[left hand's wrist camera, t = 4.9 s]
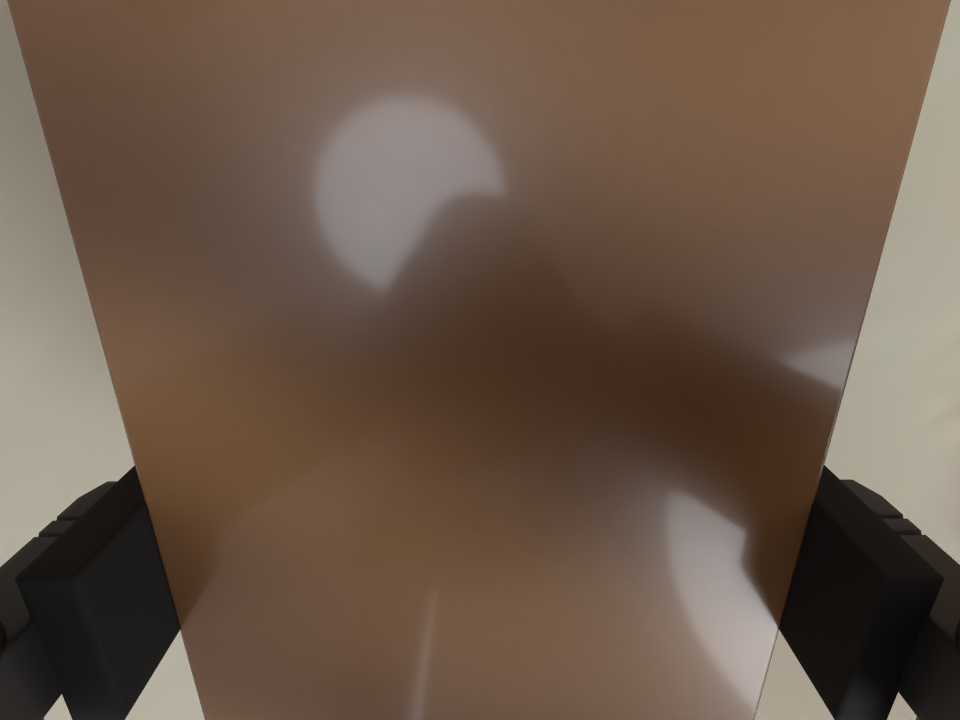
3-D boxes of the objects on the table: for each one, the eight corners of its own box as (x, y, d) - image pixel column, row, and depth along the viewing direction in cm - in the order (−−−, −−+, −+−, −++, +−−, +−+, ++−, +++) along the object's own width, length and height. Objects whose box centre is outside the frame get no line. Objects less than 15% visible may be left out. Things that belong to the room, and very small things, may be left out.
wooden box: (227, -239, 11) (-272, -994, 4) (730, -238, 11) (1228, -996, 4) (320, 482, 18) (205, 727, 10) (638, 482, 18) (754, 726, 10)
